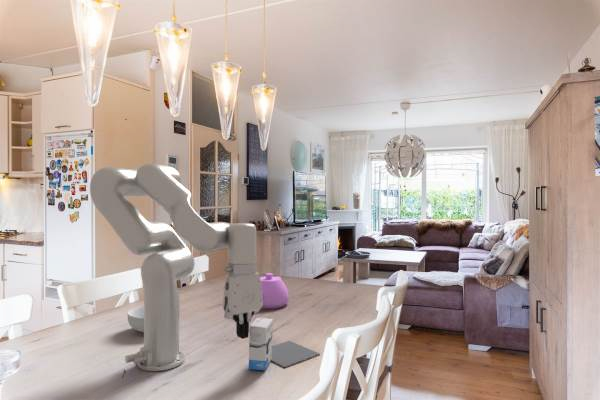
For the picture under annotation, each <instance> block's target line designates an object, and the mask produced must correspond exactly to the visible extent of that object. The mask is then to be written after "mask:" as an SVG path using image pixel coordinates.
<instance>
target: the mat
mask: <svg viewBox="0 0 600 400" xmlns="http://www.w3.org/2000/svg"><path fill="white" fill-rule="evenodd" d="M317 355H318V356H320V355H321V353H319V352H317V351H314V350H312V349H311V348H308V347H305V346H303V345H300V344H298V343H296V342H293V341H291V340H287V341H284V342H281V343H278V344H275V345H272V359H271V361H272V363H273V362H274V364H275V363H276V365H277V364H278V365H277V366H279V365H280V366H279V367H281V366H282V367H281V368H283V367H287V366H289V367H291V366H290V365H292V366H294V365H296V364H295V363H297V362H300V361H302V362H304V361H303V360H305V359H308V358H310V359H312V358H311V357H313V358H315V357H314V356H316V357H318V356H317ZM308 360H309V359H308ZM271 361H270V362H271ZM305 361H306V360H305ZM300 363H301V362H300ZM293 364H294V365H293ZM297 364H298V363H297ZM287 368H288V367H287Z"/></svg>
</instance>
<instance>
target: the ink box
mask: <svg viewBox="0 0 600 400" xmlns="http://www.w3.org/2000/svg"><path fill="white" fill-rule="evenodd" d="M273 326H274V318H265V317H257V318H256V319H254V320H253V322H251V324H249V336H248V340H249V341H248V342H249V343H248V344H249V346H248V370H257V371H266V369H268V366H269V364H270V363H271V359H272V346H273V334H274V333H273V329H274V328H273Z"/></svg>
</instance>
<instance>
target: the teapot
mask: <svg viewBox="0 0 600 400" xmlns="http://www.w3.org/2000/svg"><path fill="white" fill-rule="evenodd" d="M260 280H261V286H262V298H263V304H262V308H261V309H266V310H271V309H273V310H274V309H278V308H279V309H280V308H283V307H285V305H287V303H288V302H289V299H290V296H289V291H288V288H287V286H286V285H285V283H284V281H283V278H282V277H281V276H278V275H277V276H274V273H271V272H270V273H269V272H268V273H265V275H264V276H260Z"/></svg>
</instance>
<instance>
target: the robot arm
mask: <svg viewBox="0 0 600 400" xmlns="http://www.w3.org/2000/svg"><path fill="white" fill-rule="evenodd" d="M90 179H91V180H90V184H89V194H90V198H91V200H92V203H93V205H94V206H95V208H96V209H97V211H99V214H101V216H103V218H104V219H105V220H106V221H107V223H109V225H110V226H111V228H112V229H113V230H114V233H116V235H117V236H118V237H119V239H120V240H121V242H122V243H123V244H124V246H125V247H126V248H127V249H128V251H129V252H130V253H132V254H133V255H135V256H143V255H148V256H146V258H145V259H144V260H143V262H142V265H141V268H140V276H141V277H140V278H141V282H142V286H143V287H142V288H143V303H144V304H143V306H144V333H143V346H142V347H140V349H139V351H137V352H136V353H131V354H128V355H126V356H125V358H124V360H125V363H126V364H129V363H132V362H133V364H136V365H137V368H139V369H141V370H143V371H147V372H161V371H167V370H171V369H174V368H176V367H178V366H180V365H182V364H183V363H184V362H185V357H186V356H185V353H184V352H183V351H180V310H181V309H180V303H181V301H180V293H179V289H178V287H177V283H176V282H177V281H180V280H182V279H185V278H187V277H189V275H191V274H192V273H193V271H194V269H195V258H194V255H193V253H192V252H191V250H190V249H189V248H188V246H187V245H186V244H185V242H184V241H186V243H188V244H189V245H190V246H192V248H194V249H196V250H198V252H201V253H211V252H214V251H219V250H223V249H227V248H228V249H227V250H228V254H227V255H228V258H227V259H228V260H227V261H228V262H227V266H225V267H224V272H225V273H227V274H226V276H225V281H224V287H223V288H224V289H223V301H222V302H223V303H222V305H223V310H224V316H223V317H224V318H225V319H227V320H233V321H234V322H235V323H236V324H235V326H236V328H235V329H236V331H235V333H236V336H237V337H238V338H240V339H243V340H244V339H249V334H250V322H251V321H252V318H253V316H254V315H255V314H257V313H259V312H260V310H261V309H263V308H262V304H263V298H262V286H261V280H260V277H261V276H260V275H261V274H260V273H259V272H258V271H257V227H256V225H255V224H253V223H251V222H250V223H248V222H241V223H240V222H239V223H238V222H236V223H231V222H225V221H217V222H216V221H214V222H207V221H206V220H205V219H204V218H202V217H201V216H200V215H199V214H198V213H197V212H196V211H195V210H194V208H193V207H192V205H191V203H192V200H193V194H192V193H191V191H190V190H189V189H188V188H186V187H185V186H184V185H183V184H182V181H181V180H182V178H181V175H180V173H179V172H178V170H176V169H175V168H174V167H173V166H170V165H165V164H159V163H154V162H153V163H152V162H151V163H145V164H143V165H141V166H140V167H139V168H138V169H137V168H128V167H120V166H107V167H103V168H100V169H98V170H97V171H95V173H94V174H93V175H92V177H91V178H90ZM143 196H144V197H146V196H148V197H149V198H150V199H152V201H153V202H155V203H156V204H157V205H158V206H159V207H161V208H162V210H164V211H165V212H166V213H167V214H168V215H169V218H170V222H171V223H172V226H173V228H174V229H173V228H172V226H170V225H169V224H167V223H166V222H163V221H160V220H159V221H158V220H155V221H154V220H152V221H150V220H147V219H146V218H145V217H144V216H143V215H142V213H141V212H140V210H139V209H138V208H137V207H136V206H135V205H134V204H133V203H132V202H131V201H129V200H128V199H126V197H143ZM177 233H178V234H177ZM179 235H180V236H179ZM180 237H182V239H183V240H184V241H183V240H182V239H181V238H180Z"/></svg>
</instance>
